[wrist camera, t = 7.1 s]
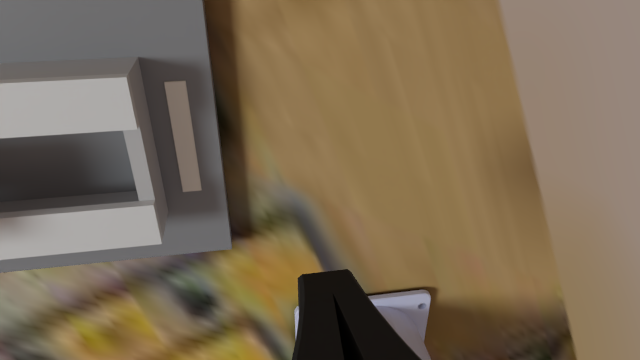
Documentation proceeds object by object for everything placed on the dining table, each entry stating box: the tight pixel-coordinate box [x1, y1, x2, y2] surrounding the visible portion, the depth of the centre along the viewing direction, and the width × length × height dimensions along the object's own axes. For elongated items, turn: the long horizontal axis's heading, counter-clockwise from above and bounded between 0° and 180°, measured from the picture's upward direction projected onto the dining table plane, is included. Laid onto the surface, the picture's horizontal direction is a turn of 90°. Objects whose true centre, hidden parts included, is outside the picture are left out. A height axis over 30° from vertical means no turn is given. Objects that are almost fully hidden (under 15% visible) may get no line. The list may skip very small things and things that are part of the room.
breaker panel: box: [0, 0, 232, 273], centre depth 18 cm, size 12×16×3 cm
